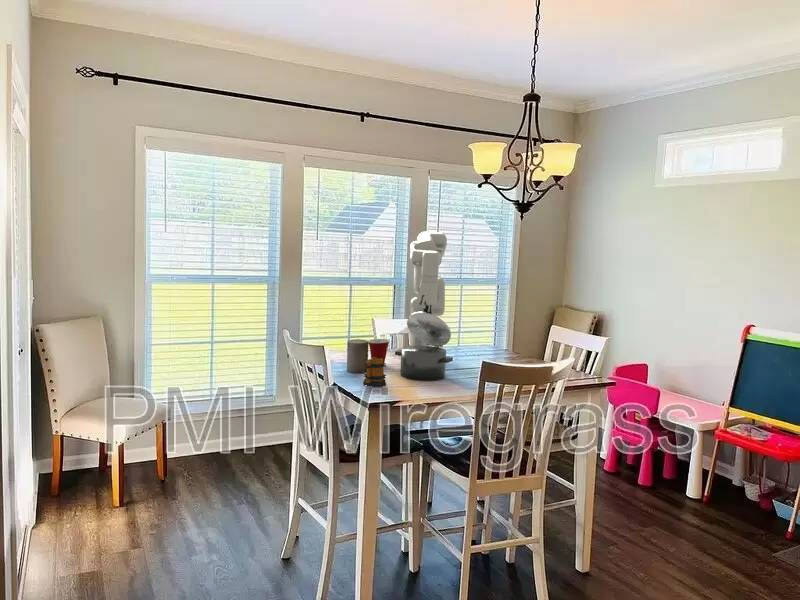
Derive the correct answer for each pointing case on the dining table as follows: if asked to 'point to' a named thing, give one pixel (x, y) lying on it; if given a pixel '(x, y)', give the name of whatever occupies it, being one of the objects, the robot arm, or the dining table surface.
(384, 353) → the plastic cup
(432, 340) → the lid
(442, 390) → the dining table surface
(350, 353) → the pillar candle
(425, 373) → the pot
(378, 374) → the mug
